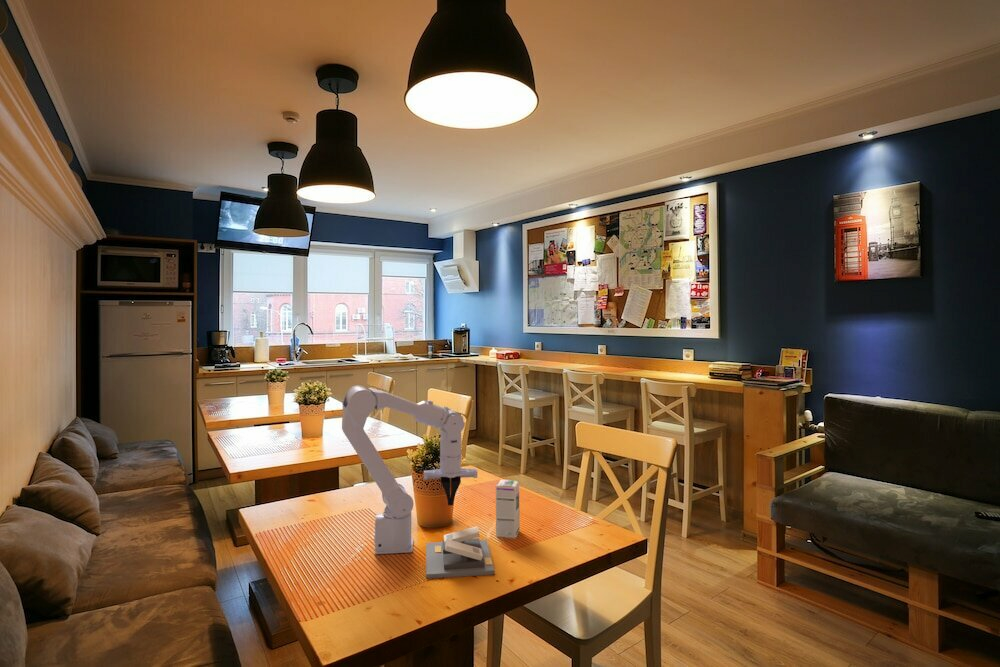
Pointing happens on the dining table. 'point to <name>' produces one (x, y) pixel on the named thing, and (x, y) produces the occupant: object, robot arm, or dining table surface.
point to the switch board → (457, 561)
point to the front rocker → (463, 549)
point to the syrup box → (507, 508)
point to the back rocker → (463, 534)
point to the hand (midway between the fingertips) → (450, 504)
